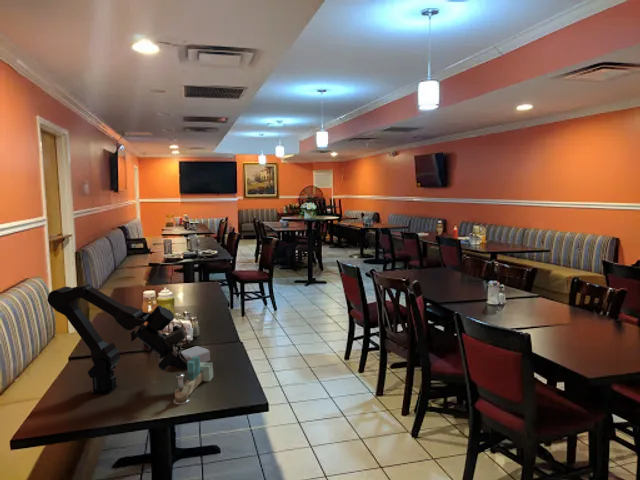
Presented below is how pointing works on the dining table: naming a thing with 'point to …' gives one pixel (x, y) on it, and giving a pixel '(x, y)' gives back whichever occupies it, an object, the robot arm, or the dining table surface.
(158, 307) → the robot arm
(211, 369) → the block
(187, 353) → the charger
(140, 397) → the dining table surface
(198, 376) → the link
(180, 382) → the pintle
